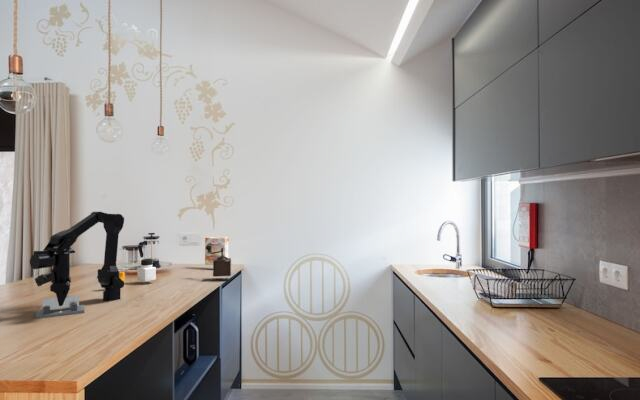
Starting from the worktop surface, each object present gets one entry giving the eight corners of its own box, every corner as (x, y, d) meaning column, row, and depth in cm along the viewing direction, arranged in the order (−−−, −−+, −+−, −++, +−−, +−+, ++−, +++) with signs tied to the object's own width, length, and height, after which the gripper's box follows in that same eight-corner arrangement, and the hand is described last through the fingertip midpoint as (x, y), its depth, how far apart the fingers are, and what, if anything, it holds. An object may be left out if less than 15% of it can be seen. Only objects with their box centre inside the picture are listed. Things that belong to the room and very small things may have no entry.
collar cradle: (84, 307, 166) (84, 298, 166) (84, 312, 157) (84, 303, 157) (37, 312, 158) (37, 303, 158) (35, 318, 149) (35, 309, 149)
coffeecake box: (204, 265, 278) (204, 237, 278) (209, 263, 285) (209, 236, 285) (224, 265, 276) (224, 237, 276) (228, 264, 283) (228, 236, 283)
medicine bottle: (156, 279, 225) (156, 258, 225) (144, 281, 219) (144, 260, 219) (148, 278, 229) (148, 257, 229) (137, 280, 223) (137, 259, 223)
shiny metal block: (77, 303, 163) (77, 293, 163) (79, 305, 159) (79, 295, 159) (42, 308, 155) (42, 298, 155) (42, 310, 152) (42, 300, 152)
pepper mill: (231, 272, 247) (231, 244, 247) (230, 276, 236) (230, 246, 236) (205, 273, 244) (205, 244, 244) (203, 276, 233) (203, 246, 234)
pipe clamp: (117, 283, 214) (117, 272, 214) (124, 284, 214) (124, 272, 214) (102, 288, 202) (102, 276, 202) (110, 288, 202) (110, 276, 202)
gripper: (38, 263, 161) (38, 302, 161) (33, 270, 145) (33, 313, 145) (71, 261, 167) (70, 298, 167) (69, 268, 151) (69, 308, 151)
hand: (61, 304), depth 157 cm, fingers closed on shiny metal block, 4 cm apart
